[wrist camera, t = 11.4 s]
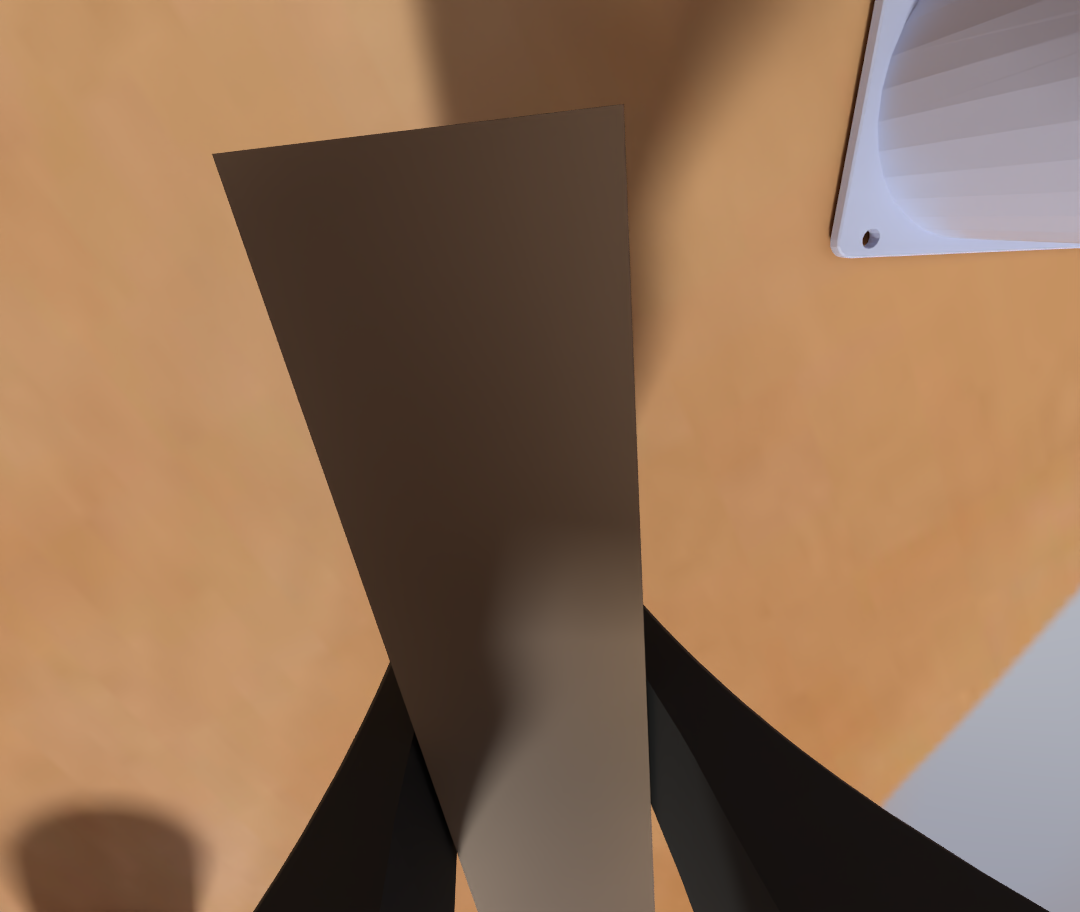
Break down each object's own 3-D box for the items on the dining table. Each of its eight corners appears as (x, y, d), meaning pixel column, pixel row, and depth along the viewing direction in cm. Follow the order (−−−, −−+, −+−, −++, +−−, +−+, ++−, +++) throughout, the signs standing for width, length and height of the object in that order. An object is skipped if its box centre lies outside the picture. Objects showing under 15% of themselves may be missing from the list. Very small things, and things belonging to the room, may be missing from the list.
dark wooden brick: (522, 157, 9) (623, 103, 4) (585, 694, 16) (656, 950, 10) (349, 180, 9) (213, 154, 4) (485, 716, 15) (505, 991, 10)
